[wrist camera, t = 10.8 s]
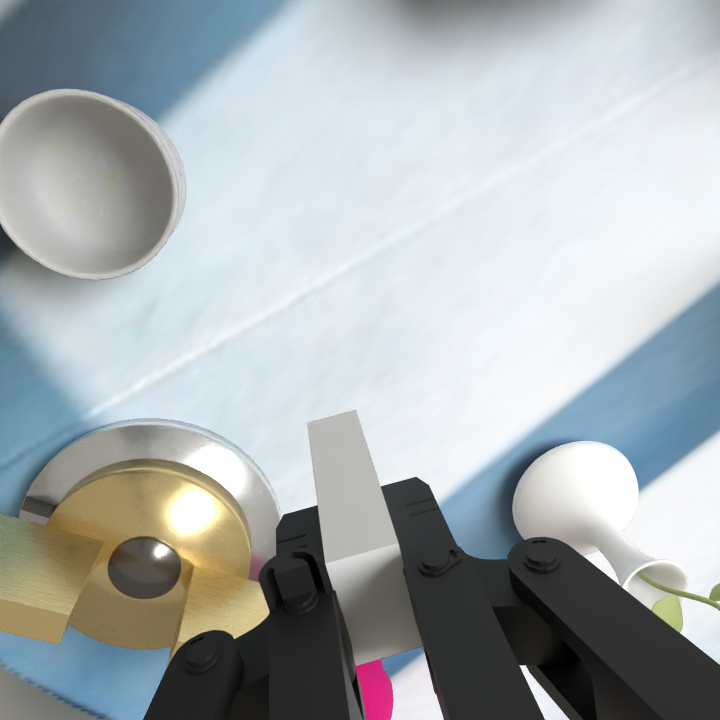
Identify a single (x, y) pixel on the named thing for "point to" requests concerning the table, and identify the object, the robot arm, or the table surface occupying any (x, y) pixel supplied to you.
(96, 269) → the teacup
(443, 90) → the table surface
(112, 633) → the gold twin-plate stand
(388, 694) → the pepper mill
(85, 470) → the silver round plate
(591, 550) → the flower in vase
